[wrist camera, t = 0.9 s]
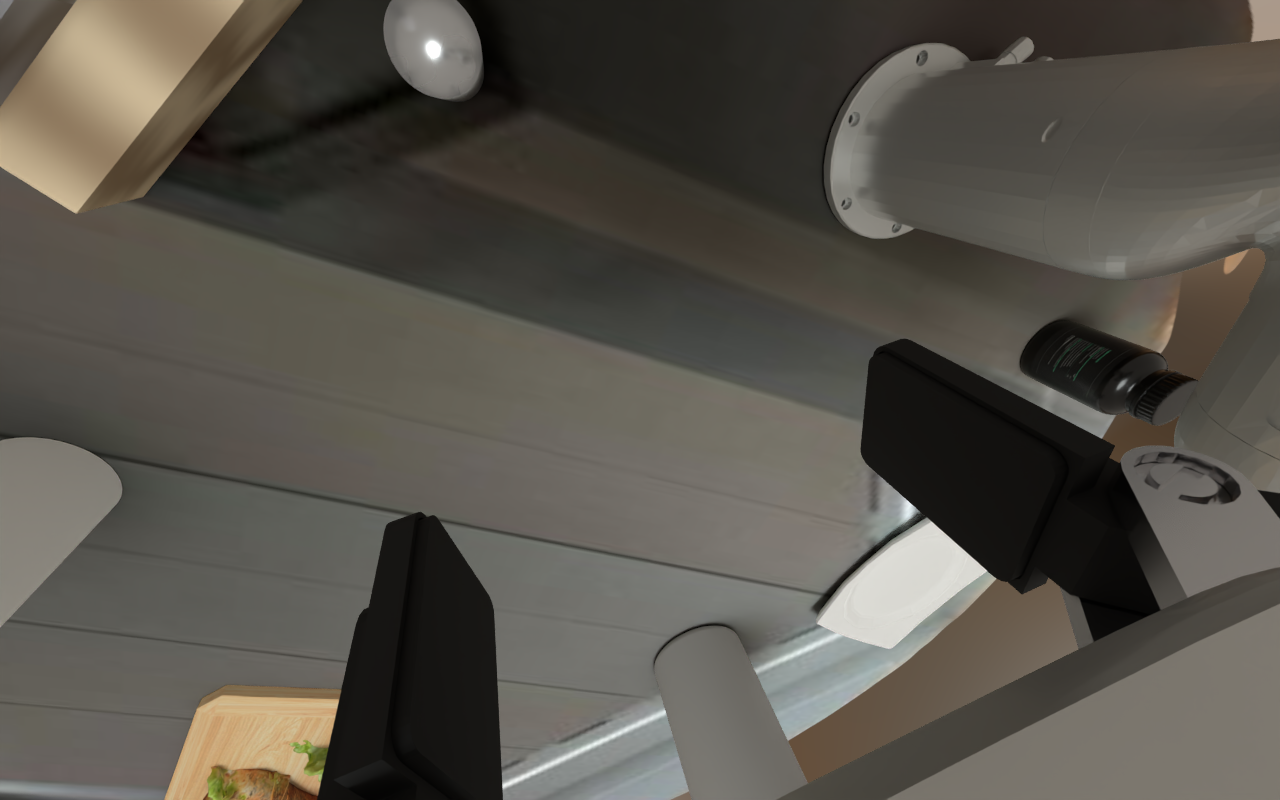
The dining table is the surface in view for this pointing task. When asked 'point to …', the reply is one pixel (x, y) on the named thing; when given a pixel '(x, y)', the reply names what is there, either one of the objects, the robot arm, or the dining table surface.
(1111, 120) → the robot arm
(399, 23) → the key peg
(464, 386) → the dining table surface
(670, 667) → the cylinder vase
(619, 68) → the dining table surface
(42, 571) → the cylindrical container
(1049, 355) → the supplement bottle
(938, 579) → the plate
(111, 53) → the block
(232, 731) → the cutting board
